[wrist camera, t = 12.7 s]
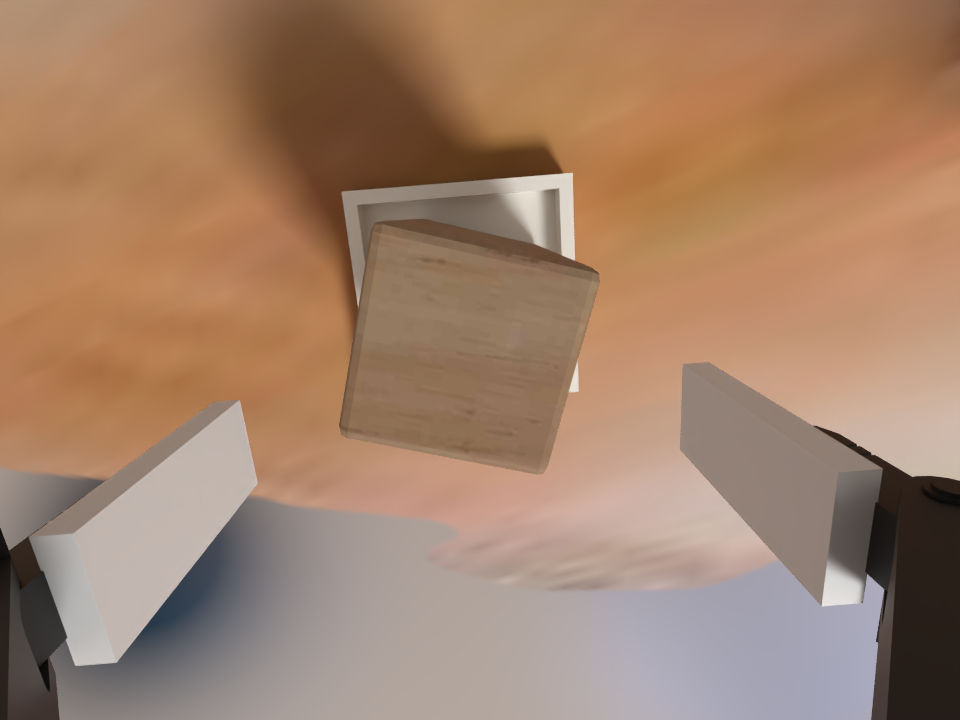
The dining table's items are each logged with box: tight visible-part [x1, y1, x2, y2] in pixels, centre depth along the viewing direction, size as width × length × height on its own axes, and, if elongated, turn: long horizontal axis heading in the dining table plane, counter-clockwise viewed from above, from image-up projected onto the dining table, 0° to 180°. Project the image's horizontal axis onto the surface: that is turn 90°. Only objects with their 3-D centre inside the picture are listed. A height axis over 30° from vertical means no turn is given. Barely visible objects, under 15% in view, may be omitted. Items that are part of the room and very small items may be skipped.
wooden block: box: [339, 219, 600, 474], centre depth 32 cm, size 10×10×20 cm
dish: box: [342, 173, 579, 392], centre depth 41 cm, size 17×17×3 cm
